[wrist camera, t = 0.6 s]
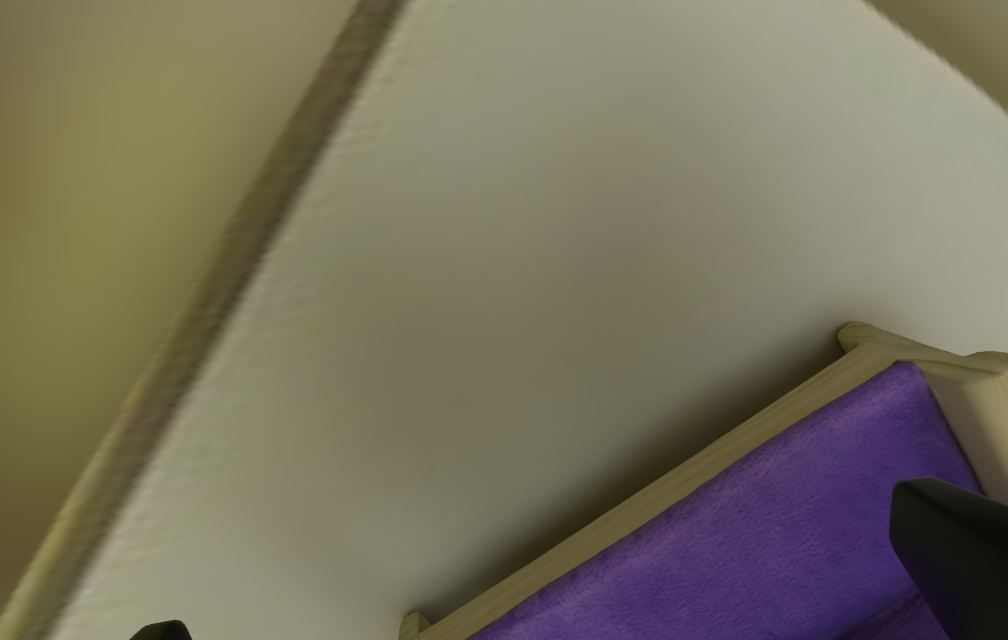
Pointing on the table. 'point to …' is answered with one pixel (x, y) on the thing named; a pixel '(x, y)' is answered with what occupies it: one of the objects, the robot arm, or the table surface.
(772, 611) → the toy sofa
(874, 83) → the table surface
